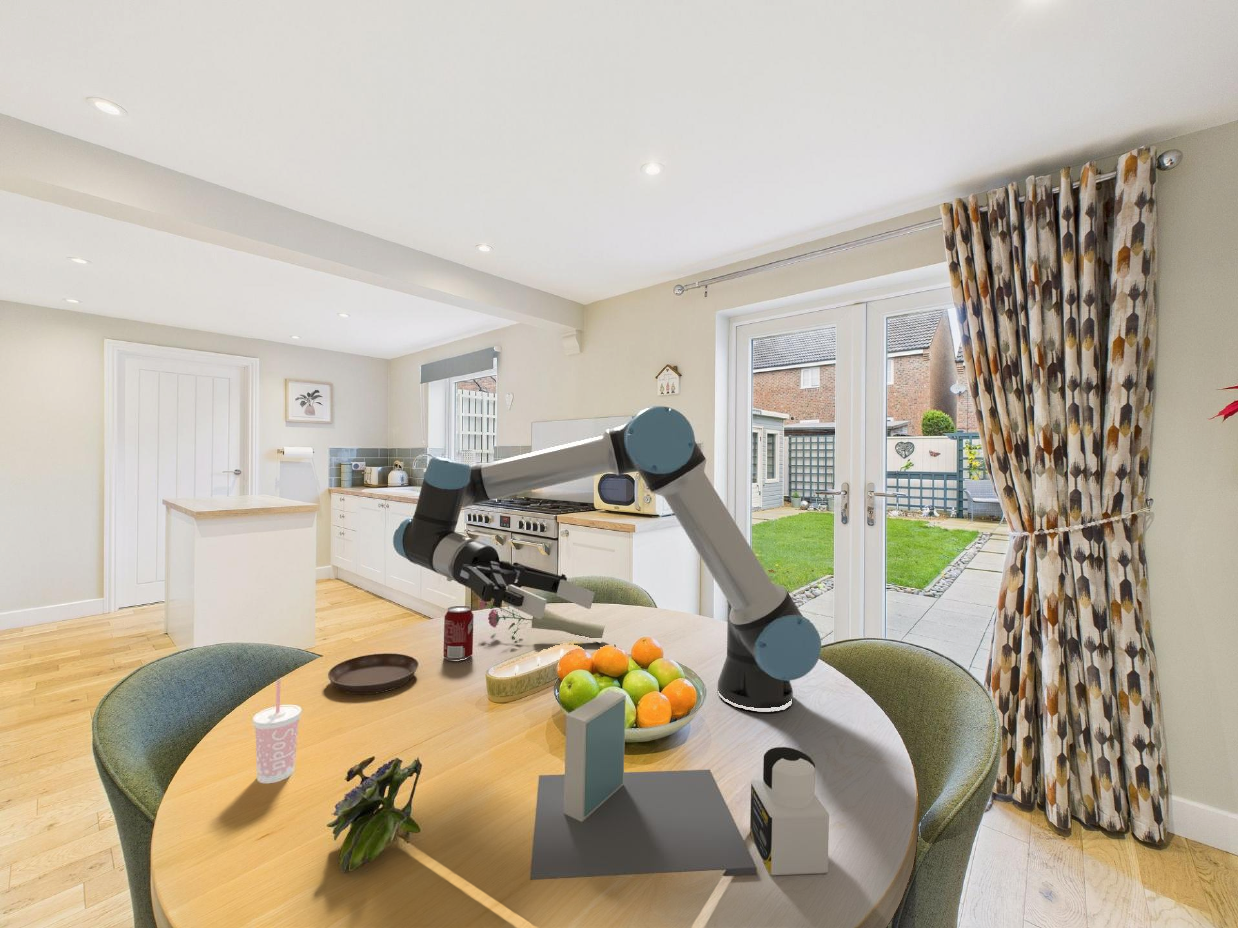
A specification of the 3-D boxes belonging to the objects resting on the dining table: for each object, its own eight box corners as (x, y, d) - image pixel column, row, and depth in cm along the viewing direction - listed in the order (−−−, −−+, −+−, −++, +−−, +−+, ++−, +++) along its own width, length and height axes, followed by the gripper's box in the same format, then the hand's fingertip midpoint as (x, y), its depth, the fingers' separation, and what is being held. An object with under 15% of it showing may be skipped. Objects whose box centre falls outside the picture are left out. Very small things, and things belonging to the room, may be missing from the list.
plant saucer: (427, 687, 112) (427, 672, 112) (332, 706, 102) (333, 690, 102) (407, 661, 126) (408, 648, 126) (323, 675, 116) (323, 661, 116)
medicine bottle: (749, 834, 68) (751, 740, 68) (802, 832, 69) (804, 739, 69) (769, 876, 61) (771, 772, 61) (829, 874, 62) (831, 771, 62)
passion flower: (356, 871, 67) (377, 764, 75) (436, 866, 66) (449, 757, 73) (295, 875, 58) (325, 753, 66) (385, 869, 57) (406, 745, 64)
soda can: (464, 664, 124) (465, 612, 124) (437, 661, 126) (439, 610, 126) (477, 654, 131) (478, 605, 131) (452, 651, 132) (453, 603, 132)
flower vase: (592, 675, 138) (464, 641, 140) (599, 647, 150) (480, 615, 151) (601, 638, 135) (470, 603, 136) (608, 612, 146) (487, 579, 148)
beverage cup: (247, 790, 75) (250, 691, 75) (254, 768, 80) (257, 675, 80) (298, 779, 78) (301, 683, 78) (301, 759, 83) (303, 669, 83)
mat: (709, 774, 81) (709, 769, 81) (756, 873, 61) (756, 866, 61) (538, 780, 79) (539, 775, 79) (529, 886, 59) (530, 878, 59)
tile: (563, 813, 70) (566, 714, 70) (606, 777, 79) (608, 689, 79) (583, 822, 68) (585, 721, 69) (624, 784, 77) (626, 695, 77)
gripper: (508, 579, 101) (602, 618, 91) (402, 588, 79) (510, 641, 69) (519, 540, 101) (613, 576, 91) (415, 539, 79) (525, 585, 69)
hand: (569, 604), depth 80 cm, fingers open, 13 cm apart
